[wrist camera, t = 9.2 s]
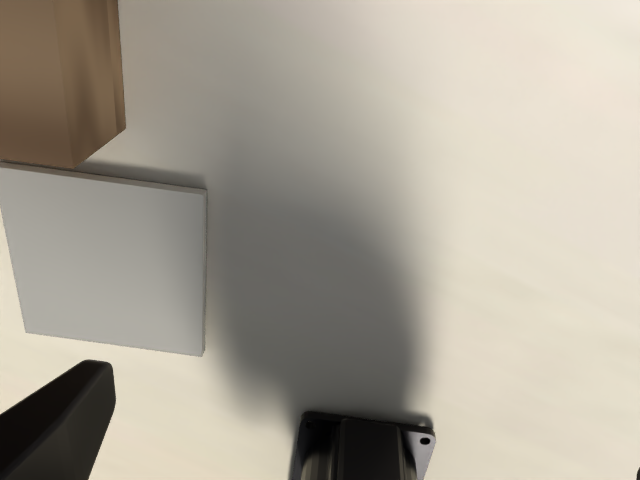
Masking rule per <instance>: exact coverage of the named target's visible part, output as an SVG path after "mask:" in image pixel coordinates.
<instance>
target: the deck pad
mask: <svg viewBox="0 0 640 480" xmlns="http://www.w3.org/2000/svg"><path fill="white" fill-rule="evenodd" d="M0 208H1V213H2V218H3V223H4V228H5V233H6V237H7V242H8V247H9V252H10V257H11V262H12V267H13V272H14V277H15V282H16V287H17V292H18V297H19V302H20V307H21V312H22V317H23V322H24V327H25V332H26V333H31V334H39V335H46V336H53V337H60V338H68V339H75V340H82V341H89V342H97V343H104V344H111V345H118V346H126V347H133V348H140V349H147V350H155V351H162V352H169V353H176V354H184V355H191V356H198V357H202V356H203V353H204V351H205V308H206V222H207V190H205V189H198V188H191V187H183V186H176V185H168V184H161V183H154V182H146V181H139V180H132V179H124V178H117V177H110V176H102V175H95V174H88V173H80V172H73V171H65V170H58V169H51V168H43V167H36V166H29V165H21V164H14V163H7V162H0Z"/></svg>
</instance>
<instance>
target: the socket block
mask: <svg viewBox="0 0 640 480" xmlns="http://www.w3.org/2000/svg"><path fill="white" fill-rule="evenodd" d="M125 129H126V123H125V108H124V92H123V77H122V62H121V47H120V32H119V17H118V2H117V0H0V159H5V160H13V161H20V162H27V163H35V164H42V165H49V166H57V167H64V168H71V169H74V168H75V167H76V166H78V165H79V164H80V163H82V162H83V161H84V160H85V159H87V158H88V157H89V156H91V155H92V154H93V153H95V152H96V151H97V150H99V149H100V148H101V147H102V146H104V145H105V144H106V143H108V142H109V141H110V140H112V139H113V138H114V137H116V136H117V135H118V134H119V133H121V132H122V131H123V130H125Z"/></svg>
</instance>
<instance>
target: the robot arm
mask: <svg viewBox="0 0 640 480" xmlns="http://www.w3.org/2000/svg"><path fill="white" fill-rule="evenodd" d="M115 403H116V395H115V385H114V375H113V368H112V365H111V364H110V363H108V362H104V361H97V360H84V361H82V362H80V363H79V364H77V365H75V366H74V367H72V368H71V369H69V370H68V371H66V372H65V373H63V374H62V375H60V376H59V377H57V378H55V379H54V380H52V381H51V382H49V383H48V384H46V385H45V386H43V387H42V388H40V389H39V390H37V391H35V392H34V393H32V394H31V395H29V396H28V397H26V398H25V399H23V400H22V401H20V402H18V403H17V404H15V405H14V406H12V407H11V408H9V409H8V410H6V411H5V412H3V413H2V414H0V480H88V479H89V476H90V473H91V471H92V468H93V465H94V463H95V460H96V457H97V455H98V452H99V449H100V447H101V444H102V441H103V439H104V436H105V433H106V431H107V428H108V425H109V423H110V420H111V417H112V415H113V412H114V408H115ZM310 421H311V422H310ZM424 437H427V438H424ZM435 443H436V439H435V433H434V431H433V430H432V429H431V428H428V427H421V426H414V425H407V424H400V423H393V422H385V421H378V420H371V419H364V418H356V417H349V416H342V415H335V414H327V413H320V412H313V411H308V412H305V413H303V414H302V416H301V420H300V427H299V434H298V441H297V449H296V456H295V463H294V470H293V477H292V480H424V476H425V473H426V470H427V467H428V464H429V461H430V458H431V455H432V452H433V449H434V446H435ZM637 480H640V468H639V470H638V472H637Z"/></svg>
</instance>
